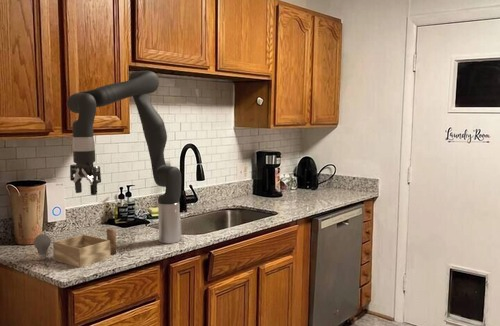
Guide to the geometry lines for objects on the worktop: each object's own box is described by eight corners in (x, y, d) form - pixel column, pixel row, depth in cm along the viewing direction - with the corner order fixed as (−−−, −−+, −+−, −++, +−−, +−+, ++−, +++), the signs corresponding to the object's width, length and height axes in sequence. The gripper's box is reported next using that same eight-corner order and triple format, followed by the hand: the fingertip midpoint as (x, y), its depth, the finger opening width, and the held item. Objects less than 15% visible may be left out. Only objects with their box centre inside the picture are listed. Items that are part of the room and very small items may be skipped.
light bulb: (48, 261, 182) (47, 236, 181) (32, 262, 182) (30, 236, 181) (53, 257, 188) (52, 232, 187) (37, 257, 188) (36, 232, 187)
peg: (112, 252, 195) (111, 228, 194) (118, 253, 193) (117, 229, 192) (105, 254, 192) (104, 229, 191) (111, 255, 190) (110, 230, 189)
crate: (84, 251, 196) (83, 234, 195) (110, 257, 187) (110, 240, 186) (54, 260, 184) (53, 242, 184) (80, 267, 176) (79, 248, 175)
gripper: (105, 149, 171) (107, 194, 173) (80, 147, 179) (82, 190, 181) (88, 151, 165) (90, 197, 167) (62, 149, 173) (65, 193, 175)
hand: (86, 193), depth 174 cm, fingers open, 8 cm apart
